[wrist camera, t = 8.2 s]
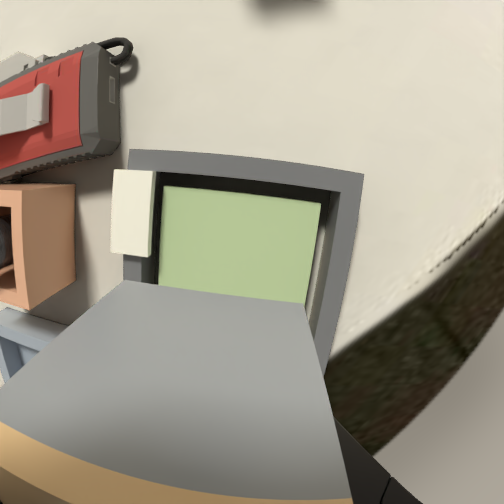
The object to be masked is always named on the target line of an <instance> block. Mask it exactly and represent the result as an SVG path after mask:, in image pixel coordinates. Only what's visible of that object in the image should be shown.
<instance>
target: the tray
mask: <svg viewBox="0 0 504 504" xmlns="http://www.w3.org/2000/svg"><path fill="white" fill-rule="evenodd" d="M67 327H68V326H67V325H63V324H60V323H56V322H53V321H49V320H46V319H42V318H39V317H36V316H32V315H29V314H26V313H23V312H20V311H17V310H14V309H11V308H8V307H6V308H5V309H3V310H1V311H0V370H1V373H2V376H3V379H4V382H5V383H6V382H7V381H8V380H9V379H10V378H11V377H12V376H13V375H15V374H16V373H17V372H18V371H19V370H20V369H21V368H22V367H23V366H24V365H25V364H27V363H28V362H29V361H30V360H31V359H32V358H33V357H34V356H35V355H36V354H38V353H39V352H40V351H41V350H42V349H43V348H44V347H45V346H47V345H48V344H49V343H50V342H51V341H52V340H53V339H55V338H56V337H57V336H58V335H59V334H60V333H61V332H63V331H64V330H65V329H66V328H67Z"/></svg>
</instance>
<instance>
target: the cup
mask: <svg viewBox="0 0 504 504" xmlns="http://www.w3.org/2000/svg"><path fill="white" fill-rule="evenodd" d="M75 187H76V184H57V183H16V182H10V183H1V184H0V216H4V215H8V214H11V226H12V247H13V260H14V263H13V264H11V265H9V266H6V267H4V268H2V269H0V301H2V302H5V303H8V304H11V305H14V306H17V307H20V308H23V309H27V310H31V309H32V308H34V307H35V306H37V305H38V304H40V303H41V302H43V301H44V300H46V299H48V298H49V297H51V296H52V295H54V294H55V293H57V292H58V291H60V290H62V289H63V288H65V287H66V286H68V285H69V284H71V283H73V282H74V281H76V272H75V242H74V216H75Z"/></svg>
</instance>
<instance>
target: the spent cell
mask: <svg viewBox="0 0 504 504" xmlns="http://www.w3.org/2000/svg"><path fill="white" fill-rule="evenodd" d="M13 263H14V260H13V247H12V226H11V214H8V215H4V216H0V269H2V268H4V267H6V266H9V265H11V264H13Z"/></svg>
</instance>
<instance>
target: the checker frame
mask: <svg viewBox="0 0 504 504" xmlns="http://www.w3.org/2000/svg"><path fill="white" fill-rule="evenodd" d="M161 172H174V173H187V174H199V175H210V176H221V177H231V178H240V179H249V180H258V181H266V182H274V183H282V184H290V185H297V186H304V187H311V188H318V189H325V190H331V194H330V201H329V208H328V215H327V222H326V229H325V235H324V241H323V247H322V253H321V259H320V265H319V271H318V277H317V282H316V288H315V293H314V298H313V303H312V309H311V314H310V319H309V326H310V330H311V334H312V337H313V341H314V345H315V348H316V352H317V356H318V360H319V364H320V367H321V371H322V375H323V376H324V373H325V369H326V365H327V362H328V358H329V354H330V350H331V346H332V342H333V338H334V334H335V330H336V326H337V322H338V318H339V313H340V309H341V304H342V300H343V295H344V291H345V286H346V281H347V276H348V271H349V266H350V261H351V255H352V250H353V244H354V239H355V233H356V227H357V221H358V215H359V208H360V201H361V194H362V187H363V180H364V174H361V173H355V172H350V171H344V170H338V169H333V168H326V167H320V166H314V165H307V164H300V163H293V162H286V161H278V160H270V159H262V158H253V157H243V156H234V155H223V154H211V153H198V152H184V151H166V150H143V149H130V150H129V159H128V170H122V169H114V176H113V190H112V208H111V252H113V253H120V254H123V279H124V280H129V281H136V282H142V283H148V284H155V252H156V230H157V214H158V199H159V187H160V176H161Z"/></svg>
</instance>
